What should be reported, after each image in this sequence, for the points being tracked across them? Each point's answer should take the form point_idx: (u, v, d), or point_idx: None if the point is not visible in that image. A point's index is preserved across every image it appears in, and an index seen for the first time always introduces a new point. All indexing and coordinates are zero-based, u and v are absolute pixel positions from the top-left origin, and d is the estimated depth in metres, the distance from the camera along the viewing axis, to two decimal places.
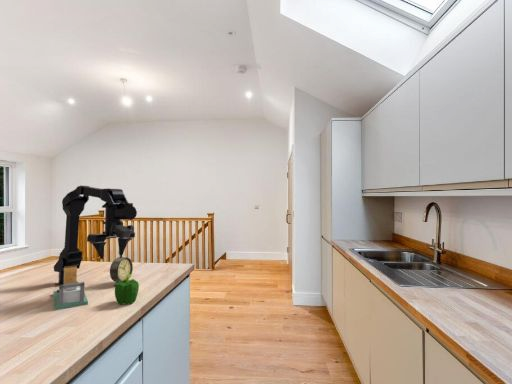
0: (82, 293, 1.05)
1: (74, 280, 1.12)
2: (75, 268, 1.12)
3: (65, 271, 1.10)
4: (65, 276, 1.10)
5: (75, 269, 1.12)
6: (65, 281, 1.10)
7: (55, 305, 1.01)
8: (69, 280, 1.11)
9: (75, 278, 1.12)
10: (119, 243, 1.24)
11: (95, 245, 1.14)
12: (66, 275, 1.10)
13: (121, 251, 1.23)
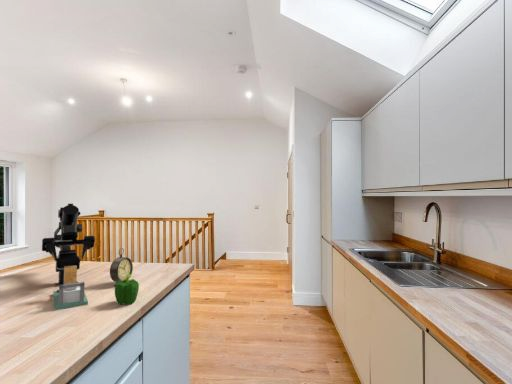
0: (82, 293, 1.05)
1: (74, 280, 1.12)
2: (75, 268, 1.12)
3: (65, 271, 1.10)
4: (65, 276, 1.10)
5: (75, 269, 1.12)
6: (65, 281, 1.10)
7: (55, 305, 1.01)
8: (69, 280, 1.11)
9: (75, 278, 1.12)
10: None
11: (50, 252, 1.19)
12: (66, 275, 1.10)
13: (82, 254, 1.22)
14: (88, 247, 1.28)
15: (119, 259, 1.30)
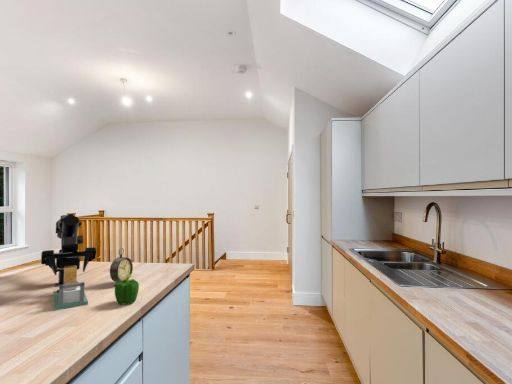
0: (82, 293, 1.05)
1: (74, 280, 1.12)
2: (75, 268, 1.12)
3: (65, 271, 1.10)
4: (65, 276, 1.10)
5: (75, 269, 1.12)
6: (65, 281, 1.10)
7: (55, 305, 1.01)
8: (69, 280, 1.11)
9: (75, 278, 1.12)
10: None
11: (50, 265, 1.14)
12: (66, 275, 1.10)
13: (83, 267, 1.17)
14: (89, 259, 1.22)
15: (119, 259, 1.30)
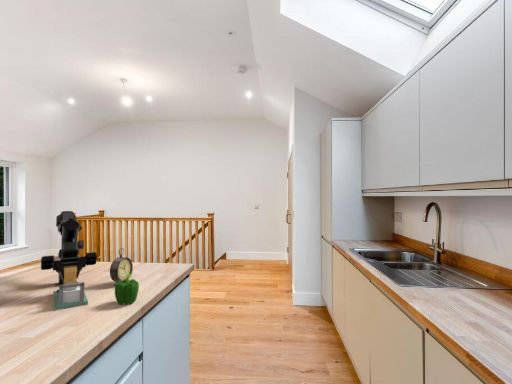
0: (82, 293, 1.05)
1: (74, 280, 1.12)
2: (75, 268, 1.12)
3: (65, 271, 1.10)
4: (65, 276, 1.10)
5: (75, 269, 1.12)
6: (65, 281, 1.10)
7: (55, 305, 1.01)
8: (69, 280, 1.11)
9: (75, 278, 1.12)
10: None
11: (57, 270, 1.13)
12: (66, 275, 1.10)
13: None
14: (83, 265, 1.19)
15: (119, 259, 1.30)
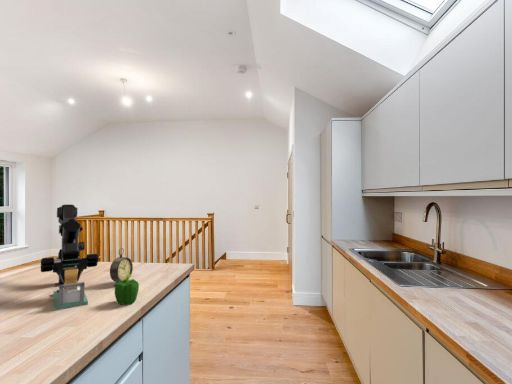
0: (82, 293, 1.05)
1: (75, 282, 1.09)
2: (76, 270, 1.09)
3: (66, 273, 1.07)
4: (65, 278, 1.07)
5: (76, 271, 1.09)
6: (66, 283, 1.07)
7: (55, 305, 1.01)
8: (70, 282, 1.08)
9: (76, 280, 1.09)
10: None
11: (58, 272, 1.10)
12: (66, 277, 1.07)
13: None
14: (84, 267, 1.16)
15: (119, 259, 1.30)
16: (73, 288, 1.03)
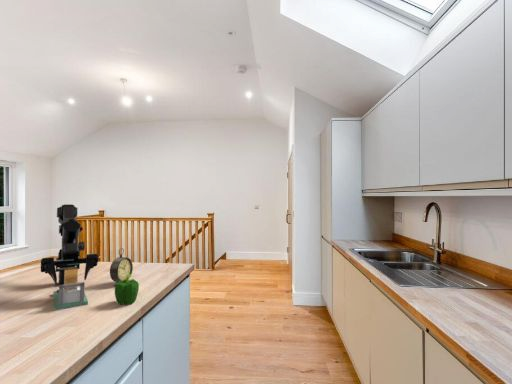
0: (82, 293, 1.05)
1: (75, 282, 1.09)
2: (76, 270, 1.09)
3: (66, 273, 1.07)
4: (65, 278, 1.07)
5: (76, 271, 1.09)
6: None
7: (55, 305, 1.01)
8: (70, 282, 1.08)
9: (76, 280, 1.09)
10: None
11: (50, 273, 1.09)
12: (66, 277, 1.07)
13: (84, 275, 1.12)
14: (91, 266, 1.17)
15: (119, 259, 1.30)
16: (73, 288, 1.03)
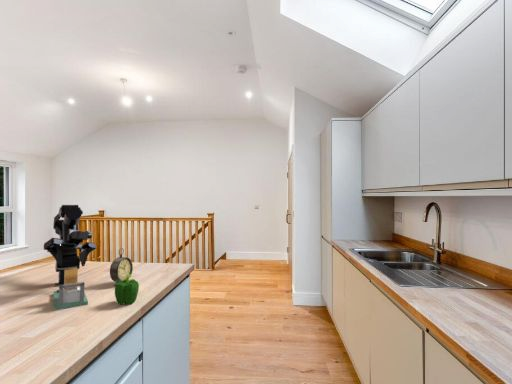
0: (82, 293, 1.05)
1: (75, 282, 1.09)
2: (76, 270, 1.09)
3: (66, 273, 1.07)
4: (65, 278, 1.07)
5: (76, 271, 1.09)
6: None
7: (55, 305, 1.01)
8: (70, 282, 1.08)
9: (76, 280, 1.09)
10: (81, 256, 1.24)
11: (53, 253, 1.15)
12: (66, 277, 1.07)
13: (83, 262, 1.22)
14: None
15: (119, 259, 1.30)
16: (73, 288, 1.03)
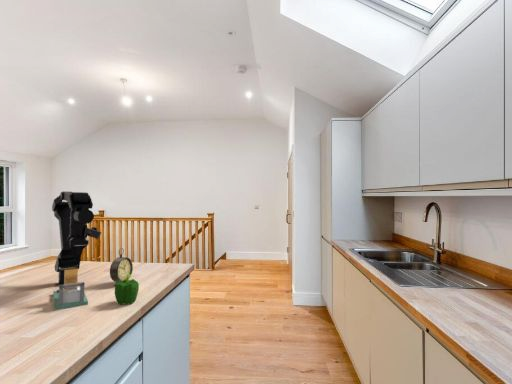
0: (82, 293, 1.05)
1: (75, 282, 1.09)
2: (76, 270, 1.09)
3: (66, 273, 1.07)
4: (65, 278, 1.07)
5: (76, 271, 1.09)
6: None
7: (55, 305, 1.01)
8: (70, 282, 1.08)
9: (76, 280, 1.09)
10: None
11: (73, 249, 1.14)
12: (66, 277, 1.07)
13: None
14: None
15: (119, 259, 1.30)
16: (73, 288, 1.03)
